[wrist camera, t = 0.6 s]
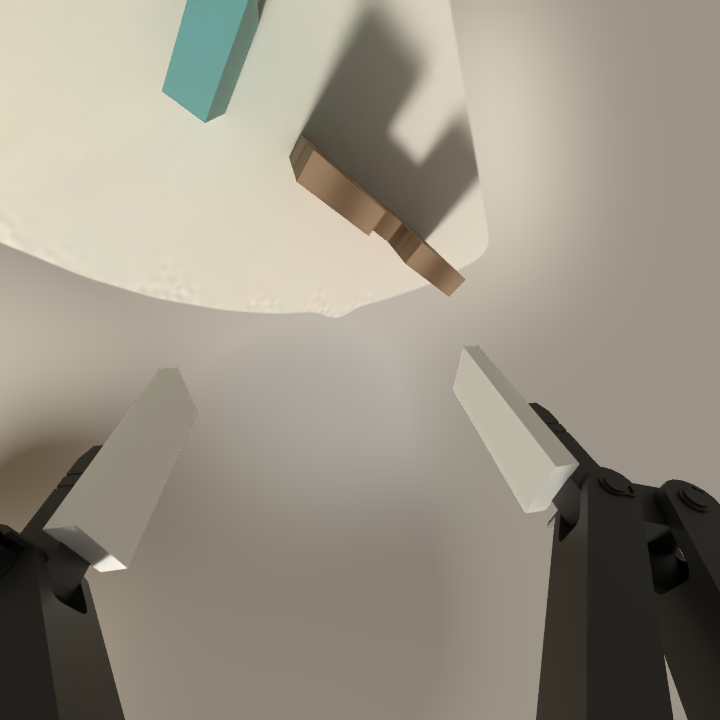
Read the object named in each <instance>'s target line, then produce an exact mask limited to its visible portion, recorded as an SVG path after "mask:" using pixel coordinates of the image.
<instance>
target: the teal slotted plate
mask: <svg viewBox="0 0 720 720" xmlns="http://www.w3.org/2000/svg"><path fill="white" fill-rule="evenodd" d="M258 2H259V0H187V3H186V7H185V10H184V14H183V17H182V21H181V25H180V28H179V32H178V35H177V39H176V43H175V46H174V50H173V53H172V57H171V61H170V64H169V68H168V71H167V75H166V79H165V82H164V86H163V89H162V92H164V93H165V94H167V95H168V96H169V97H171V98H172V99H173V100H175V101H176V102H177V103H179V104H180V105H181V106H183V107H184V108H186V109H187V110H188V111H190V112H191V113H192V114H194V115H195V116H196V117H198V118H199V119H200V120H202V121H203V122H205V123H206V122H208V121H210V120H212V119H214V118H216V117H218V116H221V115H223V114H225V112H226V109H227V106H228V104H229V101H230V98H231V96H232V93H233V90H234V88H235V85H236V82H237V80H238V77H239V74H240V72H241V69H242V67H243V64H244V61H245V59H246V56H247V53H248V51H249V48H250V45H251V43H252V40H253V37H254V35H255V32H256V29H257V27H258V24H259V22H260V21H259V14H258V6H257V5H258Z"/></svg>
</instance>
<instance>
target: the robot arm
mask: <svg viewBox="0 0 720 720" xmlns="http://www.w3.org/2000/svg"><path fill="white" fill-rule="evenodd" d="M453 391H454V392H455V394H456V396H457V398H458V399H459V401H460V403H461V404H462V406H463V408H464V409H465V411H466V413H467V415H468V416H469V418H470V419H471V421H472V423H473V424H474V427H475V428H476V430H477V432H478V433H479V435H480V436H481V438H482V440H483V442H484V444H485V445H486V447H487V449H488V450H489V452H490V454H491V455H492V457H493V459H494V460H495V462H496V464H497V466H498V467H499V469H500V471H501V472H502V474H503V476H504V478H505V479H506V481H507V483H508V484H509V486H510V488H511V489H512V491H513V493H514V495H515V496H516V498H517V500H518V501H519V503H520V505H521V507H522V508H523V510H524V512H525V513H530V512H538V511H544V510H546V509H547V508H548V506H549V505H550V503H551V502H553V503H554V505H555V506H556V507H557V509H558V511H557V512H556V514H555V515H554V516H553V517H552V519H551V520H550V521H549V523H548V525H547V527H548V528H551V527H552V526H553V525H554V535H553V547H552V556H551V567H550V578H549V588H548V599H547V609H546V620H545V632H544V641H543V652H542V663H541V673H540V684H539V694H538V705H537V716H536V720H673V713H672V707H671V701H670V693H669V686H668V680H667V673H666V666H665V660H664V655H665V658H666V661H667V664H668V667H669V669H670V672H671V675H672V677H673V680H674V683H675V686H676V689H677V691H678V694H679V697H680V700H681V703H682V705H683V708H684V710H685V713H686V716H687V719H688V720H720V504H719V503H718V502H717V501H716V500H715V499H714V498H713V497H712V496H710V495H709V494H708V493H707V492H705V491H704V490H702V489H700V488H699V487H697V486H695V485H693V484H690V483H688V482H685V481H682V480H673V479H672V480H669V481H666V482H665V483H664V484H663V485H662V486H661V487H660V488H656V487H651V486H645V485H640V484H634V483H631V482H630V481H629V480H628V479H627V478H625V477H624V476H623V475H621V474H620V473H618V472H615V471H614V470H611V469H608V468H604V467H600V466H599V465H598V464H597V463H596V462H595V461H594V460H593V459H592V458H591V457H590V456H589V454H587V452H586V451H585V450H584V449H583V448H582V447H581V446H580V445H579V443H578V442H577V441H576V440H575V439H574V438H573V437H572V436H571V435H570V434H569V433H568V432H566V429H565V428H564V427H563V426H562V425H561V424H559V422H558V421H557V419H556V418H555V417H554V416H553V415H552V414H551V413H550V412H549V411H548V410H546V409H545V408H543V407H542V406H540V405H539V404H537V403H529V404H528V403H527V402H526V401H525V400H524V399H523V397H522V396H521V395H520V394H519V392H518V391H517V390H516V389H515V388H514V387H513V385H512V384H511V383H510V382H509V381H508V380H507V379H506V377H505V376H504V375H503V374H502V373H501V372H500V370H499V369H498V368H497V367H496V366H495V365H494V363H493V362H492V361H491V360H490V359H489V357H488V356H487V355H486V354H485V353H484V352H483V350H482V349H481V348H480V347H479V346H470V347H463V351H462V355H461V359H460V363H459V367H458V372H457V375H456V379H455V383H454V387H453ZM197 414H198V411H197V409H196V406H195V404H194V402H193V400H192V398H191V396H190V394H189V391H188V389H187V387H186V385H185V383H184V381H183V379H182V376H181V374H180V372H179V370H178V368H165V369H159V370H158V371H157V372H156V374H155V375H154V376H153V378H152V379H151V381H150V382H149V383H148V385H147V386H146V388H145V389H144V390H143V392H142V393H141V395H140V396H139V397H138V398H137V400H136V401H135V403H134V404H133V405H132V407H131V408H130V409H129V411H128V412H127V414H126V415H125V416H124V418H123V419H122V420H121V422H120V423H119V425H118V426H117V427H116V429H115V430H114V432H113V433H112V434H111V436H110V437H109V438H108V440H107V441H106V443H105V444H104V445H101V446H94V447H92V448H91V449H90V450H89V451H88V452H86V453H85V454H84V455H82V457H80V458H79V459H78V460H77V461H76V462H75V464H74V465H73V466H72V467H71V469H70V470H69V471H68V473H67V476H66V477H64V478H63V479H62V480H61V482H60V483H59V484H58V486H57V489H54V491H53V492H52V493H51V495H50V496H49V497H48V498H47V500H46V501H45V502H44V503H43V505H42V506H41V507H40V509H39V510H38V511H37V513H36V514H35V515H34V516H33V518H32V519H31V520H30V522H29V523H28V524H27V526H26V527H25V528H24V529H23V531H22V532H21V533H20V534H19V533H18V532H16V531H15V530H13V529H12V528H10V527H9V526H7V525H2V524H0V720H125V718H124V714H123V710H122V707H121V703H120V700H119V696H118V692H117V688H116V684H115V681H114V677H113V673H112V669H111V666H110V662H109V658H108V655H107V651H106V647H105V643H104V640H103V636H102V632H101V628H100V625H99V621H98V618H97V613H96V610H95V606H94V603H93V599H92V595H91V592H90V587H89V584H88V582H87V580H86V579H85V577H83V576H84V574H85V573H86V571H87V569H88V567H89V565H92V566H93V567H94V568H96V569H97V570H99V571H100V572H104V571H111V570H119V569H125V568H128V566H129V564H130V562H131V559H132V557H133V555H134V553H135V551H136V548H137V546H138V544H139V542H140V540H141V537H142V535H143V533H144V531H145V528H146V526H147V524H148V522H149V520H150V517H151V515H152V513H153V511H154V509H155V506H156V504H157V502H158V500H159V498H160V495H161V493H162V491H163V489H164V487H165V484H166V482H167V480H168V478H169V475H170V473H171V471H172V469H173V467H174V464H175V462H176V460H177V458H178V456H179V453H180V451H181V449H182V447H183V445H184V442H185V440H186V438H187V436H188V433H189V431H190V429H191V427H192V425H193V422H194V420H195V418H196V415H197ZM554 523H555V524H554ZM680 550H681V551H680ZM681 552H682V553H681ZM682 554H683V555H682ZM683 556H684V557H683Z"/></svg>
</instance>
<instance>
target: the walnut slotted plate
mask: <svg viewBox="0 0 720 720" xmlns="http://www.w3.org/2000/svg"><path fill="white" fill-rule="evenodd" d="M289 158H290V161H291V165H292V168H293V171H294V174H295V177H296V181H297V182H298V183H299V184H301V185H302V186H303V187H305V188H306V189H307V190H309V191H310V192H311V193H313V194H314V195H315V196H316V197H318V198H319V199H320V200H322V201H323V202H324V203H326V204H327V205H328V206H330V207H331V208H332V209H334V210H335V211H336V212H338V213H339V214H340V215H342V216H343V217H344V218H346V219H347V220H348V221H350V222H351V223H352V224H354V225H355V226H356V227H358V228H359V229H360V230H362V231H363V232H364V233H366V234H367V235H368V236H369V235H370V233H371V232H372V230H373V231H375V232H376V233H377V234H379V235H380V236H381V237H382V238H384V239H385V240H386V241H388V242H389V244H390V245H391V246H392V247H393V249H394V250H395V251H396V252H397V254H398V255H399V256H400V257H401V259H402V260H403V261H404V262H405V264H407V265H408V266H409V267H411V268H412V269H413V270H415V271H416V272H417V273H419V274H420V275H421V276H423V277H424V278H425V279H427V280H428V281H429V282H431V283H432V284H433V285H435V286H436V287H437V288H438V289H440V290H441V291H442V292H444V293H445V294H446V295H448V296H450V295H451V294H452V293H453V292H454V291H455V290H456V289H457V288H458V287H459V286H460V285H461V283H463V282H464V280H465V279H464V278H463V277H462V276H461V275H460V274H459V273H458V272H457V271H456V270H455V269H454V268H453V267H452V266H451V265H450V264H449V263H447V262H446V261H445V260H444V259H443V258H442V257H441V256H440V255H439V254H438V253H437V252H436V251H435V250H434V249H433V248H432V247H431V246H430V245H429V244H428V243H426V242H425V241H424V240H423V239H422V238H421V237H420V236H419V235H417V234H416V233H415V232H414V231H413V230H412V229H410V228H409V227H408V226H407V225H406V224H405V223H404V222H402V221H401V220H400V219H399V218H398V217H397V216H395V215H394V214H393V213H392V212H391V211H390V210H389V209H387V208H386V207H385V206H384V205H383V204H382V203H380V202H379V201H378V200H377V199H376V198H375V197H373V196H372V195H371V194H370V193H369V192H368V191H367V190H365V189H364V188H363V187H362V186H361V185H360V184H358V183H357V182H356V181H355V180H354V179H353V178H352V177H350V176H349V175H348V174H347V173H346V172H345V171H343V170H342V169H341V168H340V167H339V166H338V165H336V164H335V163H334V162H333V161H332V160H331V159H330V158H328V157H327V156H326V155H325V154H324V153H323V152H321V151H320V150H319V149H318V148H317V147H316V146H315V145H313V144H312V143H311V142H310V141H309V140H308V139H306V138H305V137H304V136H303V135H302V134H301V135H300V137H299V139H298V141H297V143H296V145H295V147H294V149H293V151H292V153H291V155H290V157H289Z"/></svg>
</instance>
